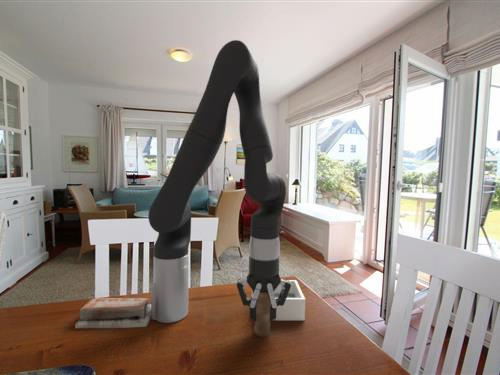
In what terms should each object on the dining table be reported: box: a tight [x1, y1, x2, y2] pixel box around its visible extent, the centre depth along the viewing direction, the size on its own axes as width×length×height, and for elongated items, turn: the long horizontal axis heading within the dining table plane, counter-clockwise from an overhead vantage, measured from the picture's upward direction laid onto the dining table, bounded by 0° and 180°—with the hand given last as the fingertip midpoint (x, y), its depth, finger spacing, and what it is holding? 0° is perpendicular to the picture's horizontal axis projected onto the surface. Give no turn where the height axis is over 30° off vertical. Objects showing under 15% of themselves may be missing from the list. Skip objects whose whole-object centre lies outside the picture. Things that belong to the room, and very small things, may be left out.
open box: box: [273, 279, 306, 321], centre depth 77 cm, size 12×12×6 cm
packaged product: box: [74, 297, 152, 329], centre depth 71 cm, size 18×5×10 cm
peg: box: [253, 292, 271, 338], centre depth 66 cm, size 4×4×11 cm
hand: (262, 319), depth 66 cm, fingers closed on peg, 4 cm apart
